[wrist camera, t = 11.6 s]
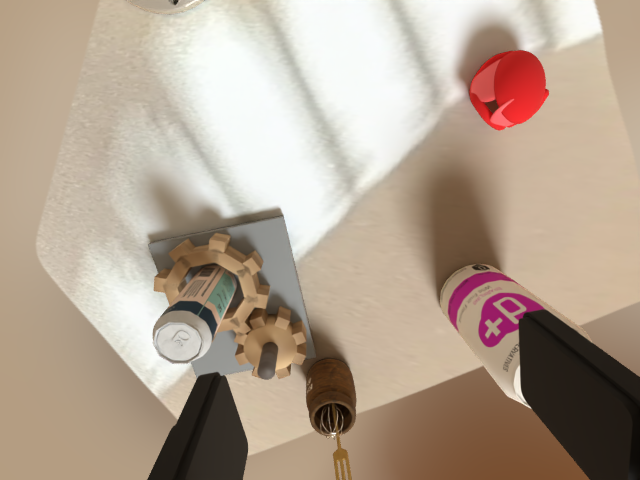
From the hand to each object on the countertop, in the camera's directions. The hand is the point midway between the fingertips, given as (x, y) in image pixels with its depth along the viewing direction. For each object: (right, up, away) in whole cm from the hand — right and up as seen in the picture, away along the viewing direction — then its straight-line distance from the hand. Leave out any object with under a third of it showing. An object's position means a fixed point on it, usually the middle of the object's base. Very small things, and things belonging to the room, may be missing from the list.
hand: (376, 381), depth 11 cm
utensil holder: (-1, -13, +34) cm, 36 cm away
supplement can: (+17, -2, +31) cm, 35 cm away
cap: (+16, +19, +25) cm, 35 cm away
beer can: (-13, 0, +28) cm, 31 cm away
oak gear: (-13, -1, +28) cm, 31 cm away
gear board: (-11, -3, +30) cm, 32 cm away
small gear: (-7, -7, +30) cm, 32 cm away
